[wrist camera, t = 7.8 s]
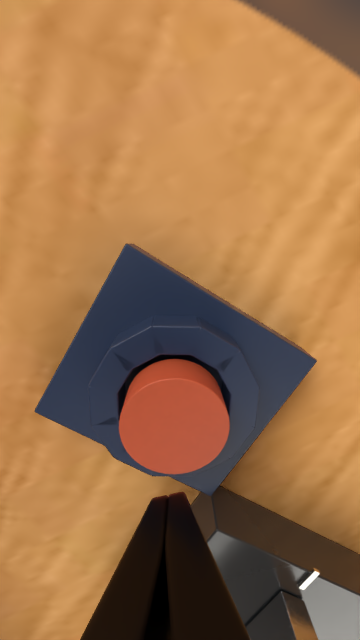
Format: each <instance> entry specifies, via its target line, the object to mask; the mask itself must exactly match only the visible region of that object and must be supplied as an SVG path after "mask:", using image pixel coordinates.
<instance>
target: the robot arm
mask: <svg viewBox="0 0 360 640" xmlns="http://www.w3.org/2000/svg"><path fill="white" fill-rule="evenodd" d="M80 640H251V639H250V636H249V634H248V632H247V630H246V628H245V625H244V623H243V621H242V619H241V617H240V614H239V612H238V610H237V608H236V605H235V603H234V601H233V599H232V597H231V594H230V592H229V590H228V588H227V586H226V583H225V581H224V579H223V577H222V574H221V572H220V570H219V568H218V566H217V563H216V561H215V559H214V557H213V555H212V552H211V550H210V548H209V546H208V543H207V541H206V539H205V537H204V535H203V532H202V530H201V528H200V526H199V524H198V521H197V519H196V517H195V515H194V513H193V510H192V508H191V506H190V504H189V501H188V499H187V497H186V495H185V493H184V492H178V493H174V494H170V495H169V497H168V496H166V495H165V496H160V497H155V498H153V499H152V500H151V502H150V504H149V505H148V507H147V509H146V511H145V513H144V515H143V517H142V519H141V521H140V523H139V525H138V527H137V529H136V531H135V533H134V535H133V537H132V539H131V541H130V543H129V545H128V547H127V549H126V551H125V553H124V555H123V557H122V559H121V560H120V562H119V564H118V566H117V568H116V570H115V572H114V574H113V576H112V578H111V580H110V582H109V584H108V586H107V588H106V590H105V592H104V594H103V596H102V598H101V600H100V602H99V604H98V606H97V608H96V610H95V612H94V614H93V615H92V617H91V619H90V621H89V623H88V625H87V627H86V629H85V631H84V633H83V635H82V637H81V639H80Z"/></svg>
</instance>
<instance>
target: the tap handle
mask: <svg viewBox="0 0 360 640" xmlns="http://www.w3.org/2000/svg"><path fill="white" fill-rule="evenodd" d="M245 628H246V630H247V632H248V634H249V636H250V639H251V640H318V637H317V635H316V632H315V629H314V626H313V624H312V621H311V618H310V616H309V613H308V610H307V607H306V605H305V602H304V601H303V600H301V599H299V598H297V597H294V596H292V595H290V594H288V593H285V592H283V591H280V593H279V594H278V595H277V596H276V597H275V598H274V599H273V600H272V601H271V602H270V603H269V604H268V605H267V606H266V607H265V608H264V609H263V610H262V611H261V612H260V613H259V614H258V615H257V616H256V617H255V618H254V619H253V620H252V621H251V622H250V623H249V624H248V625H247V626H246V627H245Z"/></svg>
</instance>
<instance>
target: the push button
mask: <svg viewBox="0 0 360 640" xmlns="http://www.w3.org/2000/svg"><path fill="white" fill-rule="evenodd" d="M229 430H230V421H229V415H228V412H227V408H226V405H225V402H224V399H223V396H222V393H221V390H220V387H219V385H218V383H217V381H216V380H215V378H214V377H213V376H212V375H211V373H210V372H208V371H207V370H206V369H205V368H203V367H202V366H200V365H198V364H196V363H194V362H191V361H188V360H183V359H167V360H162V361H158V362H155V363H153V364H151V365H149V366H147V367H146V368H144V369H143V370H142V371H140V372H139V373H138V374H137V375H136V376H135V378H134V379H133V381H132V382H131V384H130V386H129V389H128V392H127V395H126V398H125V401H124V405H123V408H122V411H121V415H120V420H119V434H120V438H121V441H122V443H123V446H124V448H125V449H126V451H127V452H128V454H129V455H130V456H131V457H132V458H133V459H134V460H135V461H136V462H138V463H139V464H140V465H142V466H144V467H145V468H147V469H150V470H152V471H155V472H159V473H164V474H183V473H188V472H192V471H195V470H198V469H200V468H202V467H204V466H206V465H207V464H209V463H210V462H211V461H212V460H214V459H215V458H216V457H217V456H218V455H219V453H220V452H221V451H222V449H223V448H224V446H225V444H226V442H227V439H228V435H229Z"/></svg>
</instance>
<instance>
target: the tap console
mask: <svg viewBox="0 0 360 640" xmlns="http://www.w3.org/2000/svg"><path fill="white" fill-rule="evenodd" d="M191 508H192V510H193V513H194V515H195V517H196V519H197V521H198V524H199V526H200V528H201V530H202V532H203V535H204V537H205V539H206V541H207V543H208V546H209V548H210V550H211V552H212V555H213V557H214V559H215V561H216V563H217V566H218V568H219V570H220V572H221V574H222V577H223V579H224V581H225V583H226V586H227V588H228V590H229V592H230V594H231V597H232V599H233V601H234V603H235V605H236V608H237V610H238V612H239V614H240V617H241V619H242V621H243V623H244V625H245V627H246V626H247V625H248V624H249V623H250V622H251V621H252V620H253V619H254V618H255V617H256V616H257V615H258V614H259V613H260V612H261V611H262V610H263V609H264V608H265V607H266V606H267V605H268V604H269V603H270V602H271V601H272V600H273V599H274V598H275V597H276V596H277V595H278V594H279V593H280V591H283V592H285V593H288V594H290V595H292V596H294V597H297V598H299V599H301V600H303V601H304V602H305V605H306V607H307V610H308V613H309V616H310V618H311V621H312V624H313V626H314V629H315V632H316V635H317V637H318V640H360V554H358V553H356V552H353V551H351V550H349V549H347V548H345V547H343V546H341V545H339V544H337V543H335V542H333V541H331V540H329V539H327V538H325V537H323V536H321V535H319V534H317V533H315V532H313V531H311V530H308V529H306V528H304V527H302V526H300V525H298V524H296V523H294V522H292V521H290V520H288V519H286V518H284V517H282V516H280V515H278V514H276V513H274V512H272V511H270V510H268V509H266V508H264V507H261V506H259V505H257V504H255V503H253V502H251V501H249V500H247V499H245V498H243V497H241V496H239V495H237V494H235V493H233V492H231V491H229V490H227V489H225V488H223V487H221V486H219V487H218V488H217V489H216V490H215V492H214V493H213V494H212V496H209V495H207V494H205V493H203V492H201V493H200V494H199V496H198V497H197V498H196V499H195V501H194V502H193V503H192V505H191Z"/></svg>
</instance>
